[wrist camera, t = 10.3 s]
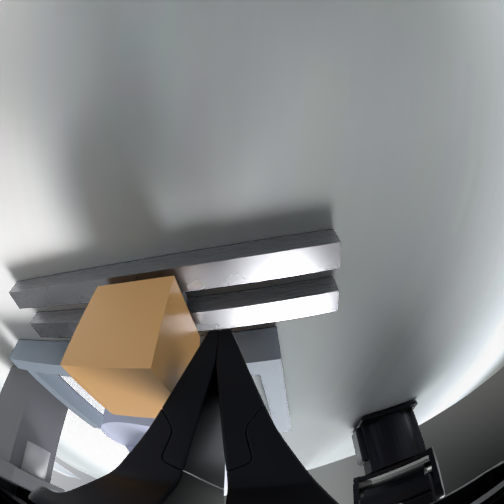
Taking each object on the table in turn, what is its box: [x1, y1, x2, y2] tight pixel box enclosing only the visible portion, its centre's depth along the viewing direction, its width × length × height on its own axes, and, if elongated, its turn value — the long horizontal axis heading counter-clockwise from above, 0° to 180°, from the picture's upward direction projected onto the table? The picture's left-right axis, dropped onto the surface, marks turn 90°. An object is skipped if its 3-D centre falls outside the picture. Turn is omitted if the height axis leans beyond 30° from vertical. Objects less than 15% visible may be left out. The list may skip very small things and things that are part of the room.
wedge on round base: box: [101, 408, 228, 496], centre depth 17 cm, size 9×7×13 cm
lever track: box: [9, 229, 341, 338], centre depth 12 cm, size 17×4×1 cm, turn 99°
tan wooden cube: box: [60, 276, 200, 418], centre depth 10 cm, size 4×4×5 cm
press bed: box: [0, 327, 291, 493], centre depth 12 cm, size 26×12×12 cm, turn 99°
